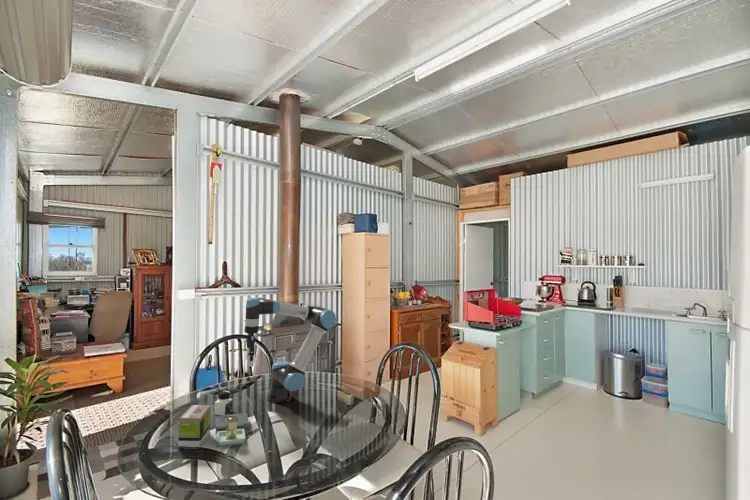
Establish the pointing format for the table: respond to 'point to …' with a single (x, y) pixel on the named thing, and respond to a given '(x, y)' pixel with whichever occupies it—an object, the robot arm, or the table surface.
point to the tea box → (194, 426)
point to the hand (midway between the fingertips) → (249, 362)
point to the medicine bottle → (223, 403)
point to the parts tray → (223, 442)
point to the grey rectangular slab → (241, 422)
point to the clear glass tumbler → (231, 427)
